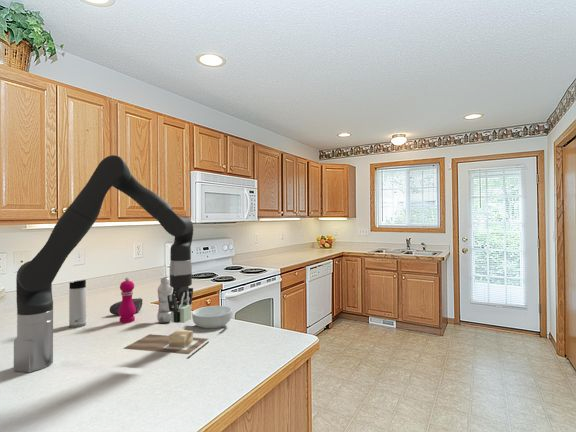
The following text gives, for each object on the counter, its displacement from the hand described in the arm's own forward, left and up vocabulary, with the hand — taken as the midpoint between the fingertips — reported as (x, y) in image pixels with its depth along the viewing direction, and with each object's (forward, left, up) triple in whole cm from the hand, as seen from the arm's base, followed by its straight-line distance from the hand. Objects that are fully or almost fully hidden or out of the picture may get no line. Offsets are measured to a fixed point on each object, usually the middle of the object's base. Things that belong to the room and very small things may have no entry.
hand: (181, 319), depth 122 cm
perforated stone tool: (+36, +51, -10) cm, 63 cm away
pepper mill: (+25, +42, -10) cm, 50 cm away
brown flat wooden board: (0, +5, -10) cm, 12 cm away
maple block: (0, 0, -9) cm, 9 cm away
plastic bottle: (+27, +24, -10) cm, 38 cm away
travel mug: (+15, +59, -10) cm, 62 cm away
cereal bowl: (+25, 0, -10) cm, 27 cm away
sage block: (0, 0, 0) cm, 0 cm away
